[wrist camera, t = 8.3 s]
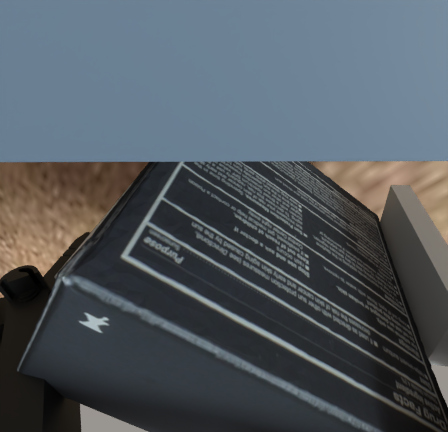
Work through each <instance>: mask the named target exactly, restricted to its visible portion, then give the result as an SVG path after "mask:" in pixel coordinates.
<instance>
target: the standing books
mask: <svg viewBox="0 0 448 432" xmlns="http://www.w3.org/2000/svg"><path fill="white" fill-rule="evenodd" d="M237 161H448V0H0V162H237Z"/></svg>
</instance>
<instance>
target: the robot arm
mask: <svg viewBox="0 0 448 432" xmlns="http://www.w3.org/2000/svg"><path fill="white" fill-rule="evenodd" d="M131 185H132V184H131ZM131 185H130V186H131ZM130 186H129V187H130ZM129 187H128V188H129ZM127 190H128V189H127ZM127 190H126V191H127ZM126 191H125V192H126ZM125 192H124V193H125ZM124 193H123V195H124ZM123 195H122V196H123ZM122 196H121V197H122ZM121 197H120V198H121ZM120 198H119V199H118V201H119V200H120ZM118 201H117V202H118ZM117 202H116V203H115V204H114V205H113V207H114V206H115V205H116V204H117ZM113 207H112V208H111V209H110V210H109V212H110V211H111V210H112V209H113ZM109 212H108V213H107V214H106V215H105V216H104V218H103V219H102V220H101V221H100V222H99V224H98V225H97V226H96V227H95V228H94V230H93V231H92V232H91V233H89V232H86V233H84V234H83V235H82V236H80V237H79V238H77V239H76V240H75V241H74V242H73V243H72V244H71V246H70V247H69V249H67V250H66V251H65V252H64V254H63V256H61V257H60V258H59V259H58V261H57V262H56V263H55V264H54V265H53V266H52V267H51V269H50V270H49V271H48V272H47V273H46V274H45V275H44V277H43V276H42V275H41V273H40V272H39V270H38V269H37V268H36V267H34V266H30V265H26V266H21V267H18V268H16V269H13V270H11V271H10V272H8V273H7V274H5V275H4V276H3V277H2V278H1V279H0V292H1V293H2V294H3V296H4V297H3V298H0V432H81V418H80V403H78V402H75V401H73V400H70V399H67V398H65V397H63V396H62V395H61V394H60V393H59V392H58V391H56V390H55V389H54V388H53V387H52V386H51V385H50V384H49V383H48V382H47V381H46V380H45V379H42V378H38V377H34V376H29V375H25V374H22V373H20V372H18V371H17V366H18V364H19V362H20V359H21V357H22V356H23V352H24V351H25V349H26V346H27V344H28V342H29V340H30V338H31V336H32V334H33V332H34V329H35V326H36V323H37V322H38V320H39V318H40V316H41V314H42V311H43V309H44V307H45V305H46V303H47V300H48V298H49V295H50V293H51V291H52V289H53V286H54V283H55V280H56V276H57V274H58V272H59V271H60V270H61V269H62V268H63V266H64V265H65V264H66V263H67V262H68V261H69V260H70V259H71V257H72V256H73V255H74V254H75V253H76V252H77V251H78V250H79V249H80V248H81V246H82V245H83V244H84V243H85V242H86V241H87V240H88V239H89V238H90V237H91V236H92V235H93V233H94V232H95V230H96V229H97V228H98V227H99V225H100V224H101V223H102V221H103V220H104V219H105V218H106V216H107V215H108V214H109ZM380 226H381V229H382V231H383V234H384V238H385V241H386V243H387V247H388V250H389V252H390V255H391V257H392V260H393V264H394V267H395V269H396V271H397V274H398V277H399V280H400V282H401V286H402V288H403V291H404V294H405V297H406V299H407V302H408V305H409V307H410V310H411V313H412V316H413V319H414V322H415V324H416V326H417V328H418V332H419V335H420V338H421V341H422V343H423V346H424V349H425V353H426V355H427V357H428V359H429V361H430V363H431V364H432V365H441V366H448V245H447V244H446V242H445V240H444V239H443V237H442V236H441V234H440V232H439V231H438V229H437V228H436V226H435V225H434V223H433V221H432V220H431V218H430V217H429V215H428V213H427V212H426V210H425V209H424V207H423V206H422V204H421V202H420V201H419V199H418V198H417V196H416V194H415V193H414V191H413V190H412V188H411V187H410V185H391V187H390V190H389V193H388V197H387V200H386V204H385V207H384V211H383V214H382V217H381V221H380ZM446 432H448V424H447V430H446Z"/></svg>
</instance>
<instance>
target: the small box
mask: <svg viewBox="0 0 448 432" xmlns="http://www.w3.org/2000/svg"><path fill="white" fill-rule="evenodd" d="M17 371H18V372H20V373H22V374H25V375H29V376H34V377H38V378H42V379H45V380H46V381H47V382H48V383H49V384H50V385H51V386H52V387H53V388H54V389H55V390H56V391H58V392H59V393H60V394H61V395H62V396H63V397H65V398H67V399H70V400H73V401H75V402H78V403H80V404H83V405H85V406H88V407H90V408H92V409H95V410H97V411H100V412H102V413H104V414H107V415H110V416H112V417H114V418H117V419H119V420H122V421H124V422H127V423H129V424H131V425H134V426H136V427H139V428H141V429H144V430H146V431H149V432H446V430H447V424H448V407H447V404H446V402H445V400H444V398H443V396H442V393H441V391H440V388H439V386H438V383H437V380H436V377H435V375H434V373H433V371H432V369H431V363H430V361H429V359H428V357H427V355H426V353H425V349H424V346H423V343H422V341H421V338H420V335H419V332H418V328H417V326H416V324H415V322H414V319H413V316H412V313H411V310H410V307H409V305H408V302H407V299H406V297H405V294H404V291H403V288H402V286H401V282H400V280H399V277H398V274H397V271H396V269H395V267H394V264H393V260H392V257H391V255H390V252H389V250H388V247H387V243H386V241H385V238H384V234H383V231H382V229H381V226H380V221H379V218H378V216H377V215H376V214H375V213H373V212H372V211H371V210H369V209H368V208H367V207H366V206H365V205H363V204H362V203H361V202H360V201H358V200H357V199H356V198H354V197H353V196H352V195H350V194H349V193H348V192H346V191H345V190H344V189H342V188H341V187H340V186H339V185H337V184H336V183H335V182H334V181H332V180H331V178H329V177H327V176H326V175H324V174H323V173H322V172H321V171H319V170H318V169H317V168H315V167H314V166H313V165H312V164H310V163H309V162H307V161H237V162H149V163H148V164H147V166H146V167H145V168H144V169H143V170H142V171H141V173H140V174H139V175H138V177H137V178H136V179H135V181H134V182H133V183H132V185H131V186H130V187H129V188H128V190H127V191H126V192H125V193H124V195H123V196H122V197H121V198H120V200H119V201H118V202H117V204H116V205H115V206H114V207H113V209H112V210H111V211H110V212H109V214H108V215H107V216H106V218H105V219H104V220H103V221H102V223H101V224H100V225H99V227H98V228H97V229H96V230H95V232H94V233H93V235H92V236H91V237H90V238H89V239H88V240H87V241H86V242H85V243H84V244H83V245H82V246H81V248H80V249H79V250H78V251H77V252H76V253H75V254H74V255H73V256H72V257H71V259H70V260H69V261H68V262H67V263H66V264H65V265H64V266H63V268H62V269H61V270H60V271H59V272H58V274H57V276H56V280H55V283H54V286H53V289H52V291H51V293H50V295H49V298H48V300H47V303H46V305H45V307H44V309H43V311H42V314H41V316H40V318H39V320H38V322H37V323H36V326H35V329H34V332H33V334H32V336H31V338H30V340H29V342H28V344H27V346H26V349H25V351H24V352H23V356H22V357H21V359H20V362H19V364H18V366H17Z"/></svg>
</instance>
